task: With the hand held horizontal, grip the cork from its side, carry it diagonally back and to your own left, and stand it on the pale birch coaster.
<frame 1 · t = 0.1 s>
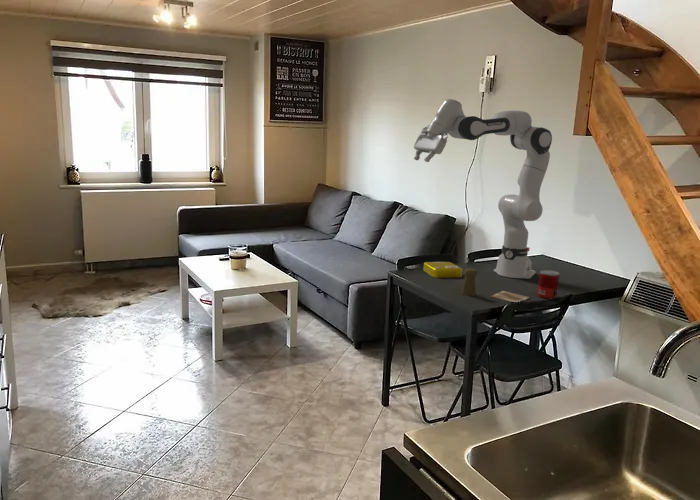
hand: (420, 160, 253), 54 cm above the table, tool tilted 30°, fingers open, 8 cm apart
canned food: (546, 297, 251), on the table
coaster: (510, 297, 245), on the table
cork: (468, 294, 248), on the table
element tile: (442, 274, 280), on the table
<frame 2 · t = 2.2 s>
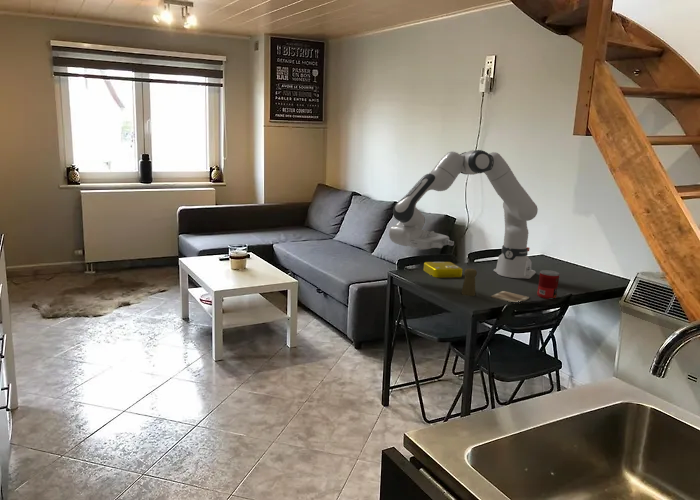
hand: (447, 244, 251), 19 cm above the table, tool horizontal, fingers open, 8 cm apart
nothing on the table moved.
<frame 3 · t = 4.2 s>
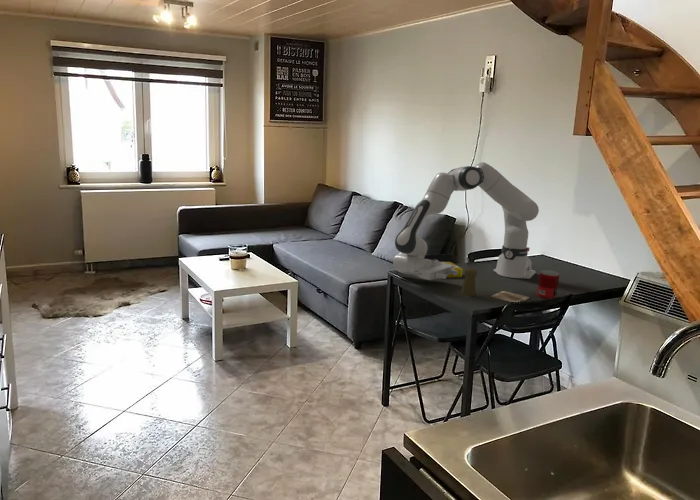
hand: (451, 275, 252), 6 cm above the table, tool horizontal, fingers open, 8 cm apart
nothing on the table moved.
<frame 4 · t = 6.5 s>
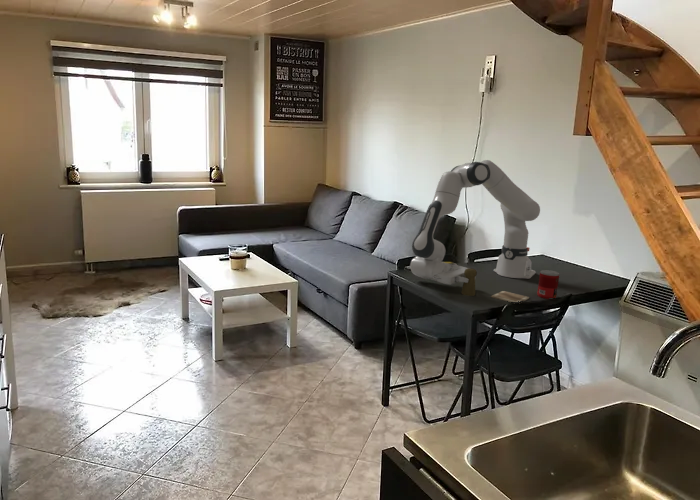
hand: (471, 279, 246), 7 cm above the table, tool horizontal, fingers closed on cork, 4 cm apart
cork: (468, 294, 248), on the table, touching gripper
everything else where it was.
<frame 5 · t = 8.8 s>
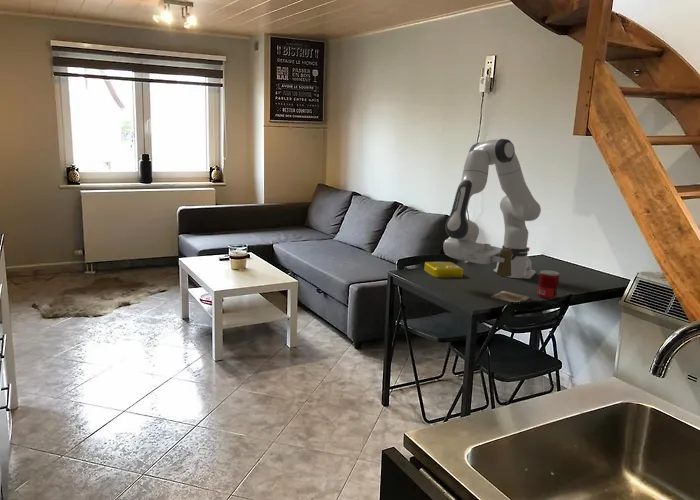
hand: (507, 259, 242), 17 cm above the table, tool horizontal, fingers closed on cork, 4 cm apart
cork: (503, 275, 244), point 10 cm above the table, touching gripper
everything else where it was.
when the fingers open (8 cm above the table, at t = 11.2 s): cork stays where it is, resting on coaster.
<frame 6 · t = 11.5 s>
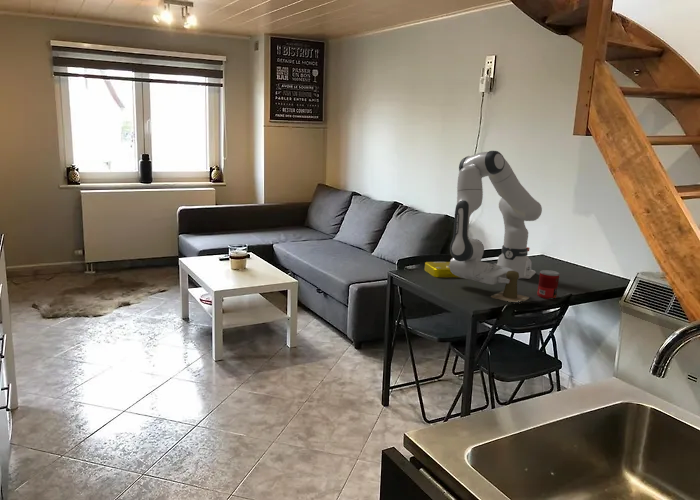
hand: (514, 279, 243), 8 cm above the table, tool horizontal, fingers open, 8 cm apart
cork: (509, 296, 245), point 1 cm above the table, touching coaster
everything else where it was.
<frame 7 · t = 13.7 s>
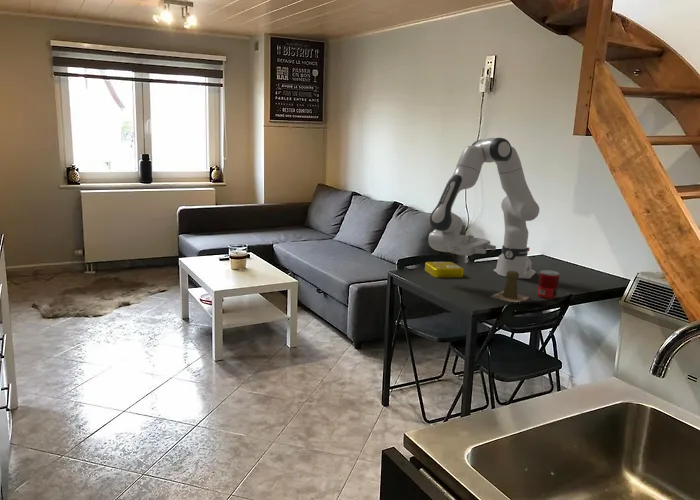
hand: (490, 249, 249), 19 cm above the table, tool horizontal, fingers open, 8 cm apart
nothing on the table moved.
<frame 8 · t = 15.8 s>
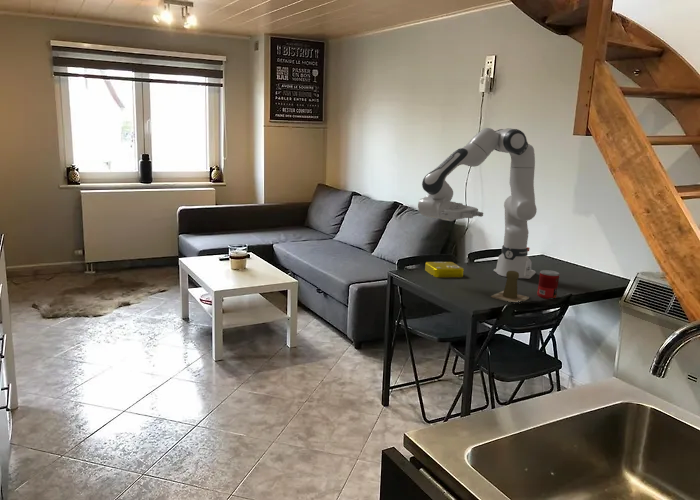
hand: (477, 215, 254), 32 cm above the table, tool horizontal, fingers open, 8 cm apart
nothing on the table moved.
at the end: cork 0.2 cm from the coaster (horizontally); cork tilted 0°; the gripper is holding nothing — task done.
